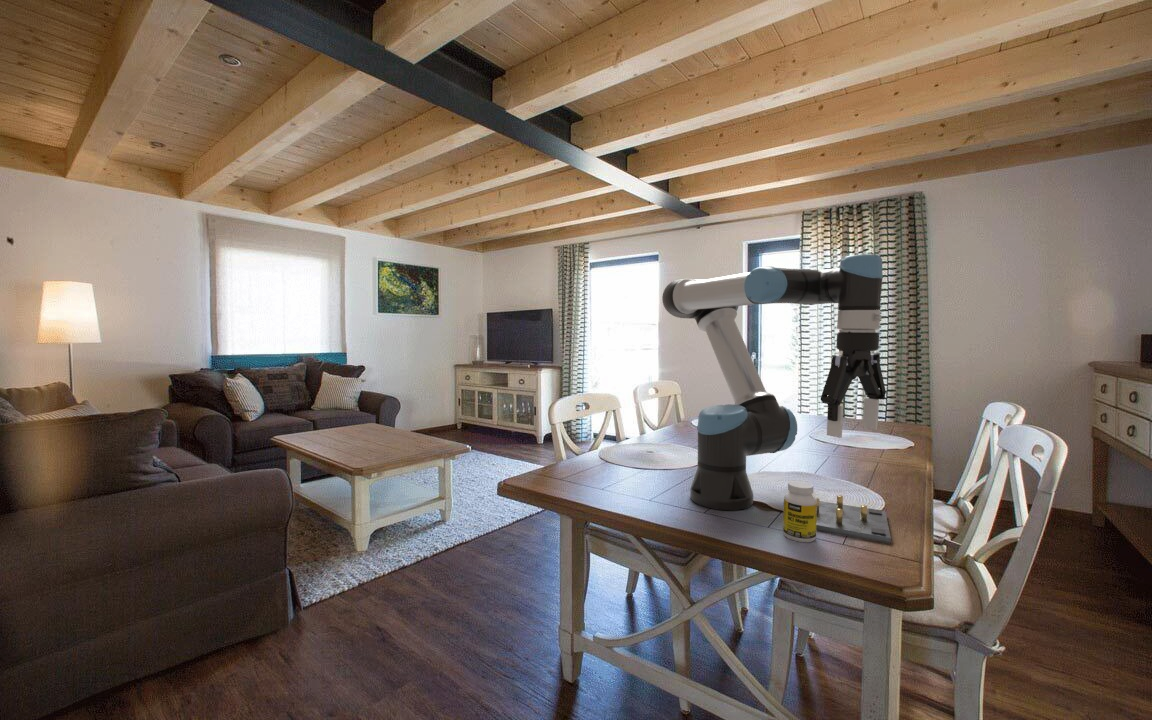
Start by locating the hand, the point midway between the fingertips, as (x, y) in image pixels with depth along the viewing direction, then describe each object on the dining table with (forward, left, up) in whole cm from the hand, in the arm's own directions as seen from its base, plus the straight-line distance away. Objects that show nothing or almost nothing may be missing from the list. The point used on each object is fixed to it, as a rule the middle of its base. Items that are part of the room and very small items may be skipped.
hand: (852, 432), depth 99 cm
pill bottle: (-9, -9, -21) cm, 25 cm away
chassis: (-2, +4, -21) cm, 21 cm away
